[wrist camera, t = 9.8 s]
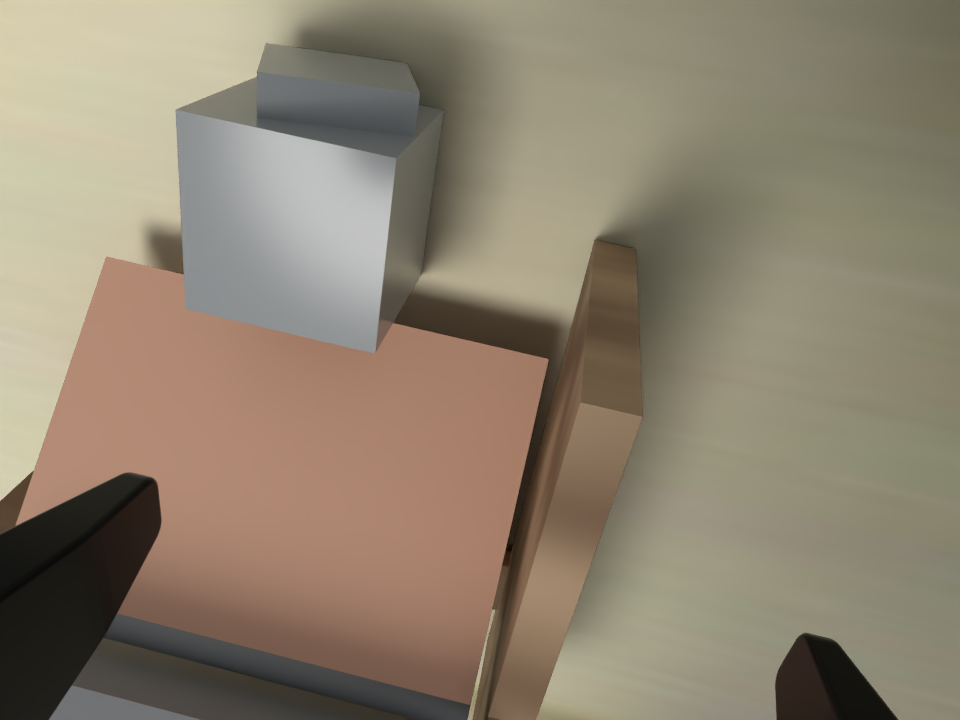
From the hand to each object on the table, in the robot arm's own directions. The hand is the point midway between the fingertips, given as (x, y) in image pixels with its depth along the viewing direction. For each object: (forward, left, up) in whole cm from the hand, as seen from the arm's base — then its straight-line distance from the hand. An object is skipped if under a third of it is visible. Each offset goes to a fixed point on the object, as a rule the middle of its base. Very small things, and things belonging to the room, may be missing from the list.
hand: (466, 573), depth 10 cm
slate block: (-2, +6, -11) cm, 12 cm away
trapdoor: (-11, +6, -9) cm, 15 cm away
